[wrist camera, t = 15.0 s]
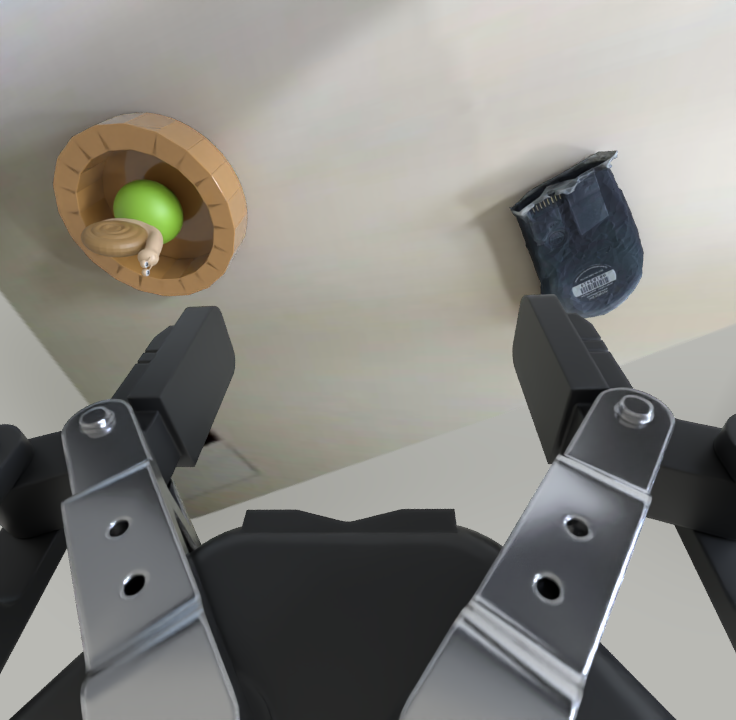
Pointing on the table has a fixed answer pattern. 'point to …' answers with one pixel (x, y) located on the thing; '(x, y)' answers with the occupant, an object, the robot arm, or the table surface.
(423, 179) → the table surface
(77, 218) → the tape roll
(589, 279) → the dark blue pouch
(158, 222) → the snail figurine
